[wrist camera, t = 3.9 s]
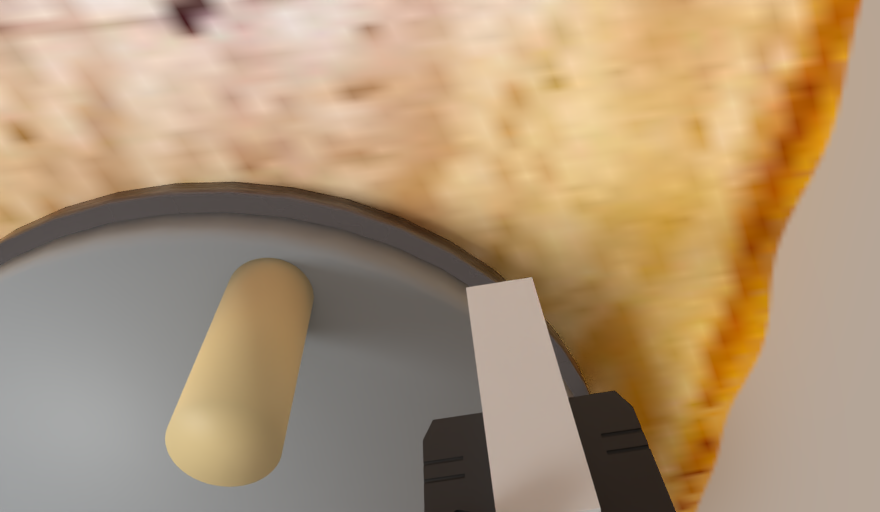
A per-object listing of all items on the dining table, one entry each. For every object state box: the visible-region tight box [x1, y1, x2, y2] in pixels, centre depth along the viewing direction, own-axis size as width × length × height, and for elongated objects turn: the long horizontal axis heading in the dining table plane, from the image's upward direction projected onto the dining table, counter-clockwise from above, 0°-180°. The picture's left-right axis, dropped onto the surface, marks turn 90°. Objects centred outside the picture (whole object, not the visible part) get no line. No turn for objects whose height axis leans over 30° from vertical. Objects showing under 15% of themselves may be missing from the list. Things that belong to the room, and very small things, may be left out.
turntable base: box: [0, 182, 589, 397], centre depth 28 cm, size 27×27×1 cm
